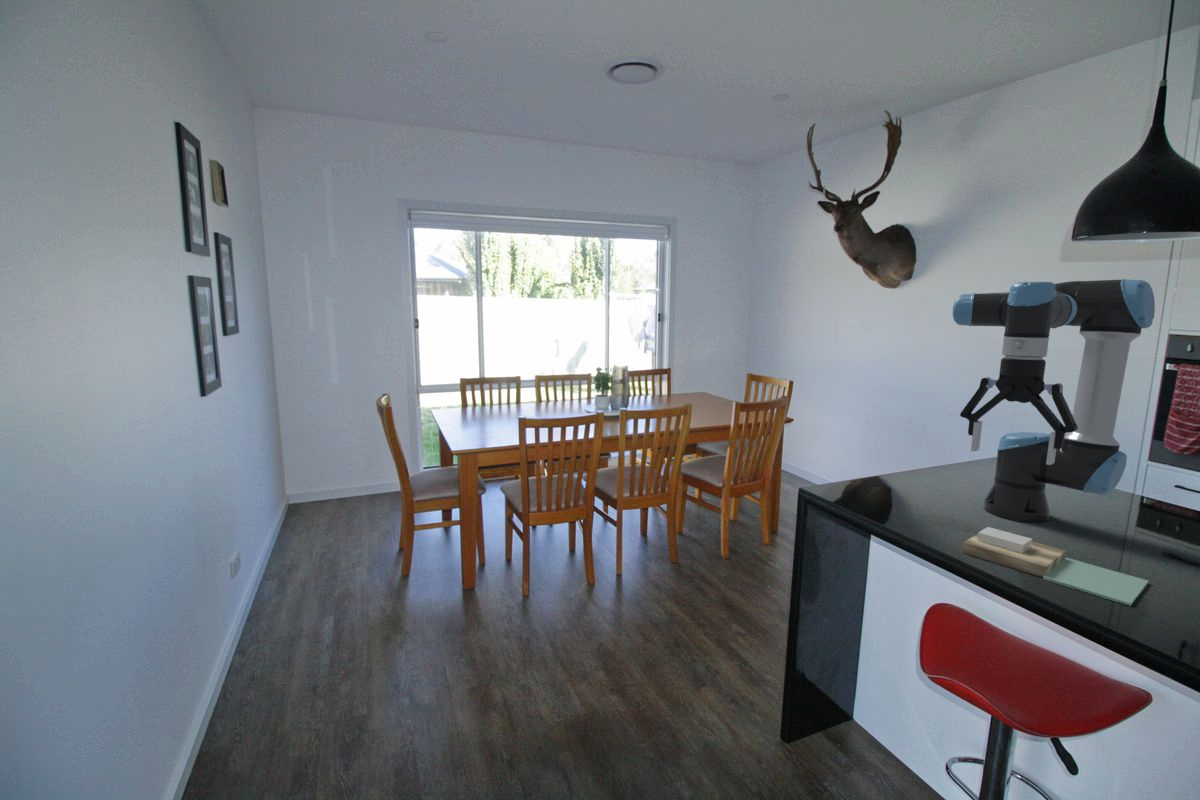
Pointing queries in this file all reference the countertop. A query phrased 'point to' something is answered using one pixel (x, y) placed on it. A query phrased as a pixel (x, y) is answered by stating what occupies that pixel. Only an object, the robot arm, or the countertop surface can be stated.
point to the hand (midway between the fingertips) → (1010, 456)
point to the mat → (1097, 581)
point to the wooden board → (1017, 556)
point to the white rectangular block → (1004, 539)
